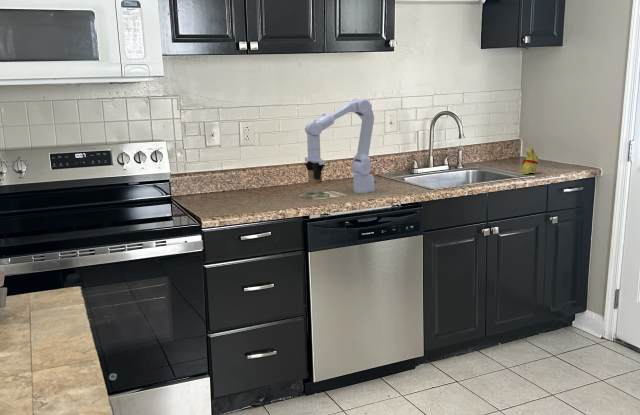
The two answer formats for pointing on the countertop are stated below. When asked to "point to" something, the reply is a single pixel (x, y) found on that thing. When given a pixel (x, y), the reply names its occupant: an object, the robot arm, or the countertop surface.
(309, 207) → the countertop surface
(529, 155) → the chocolate bunny
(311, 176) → the walnut block
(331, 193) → the board
